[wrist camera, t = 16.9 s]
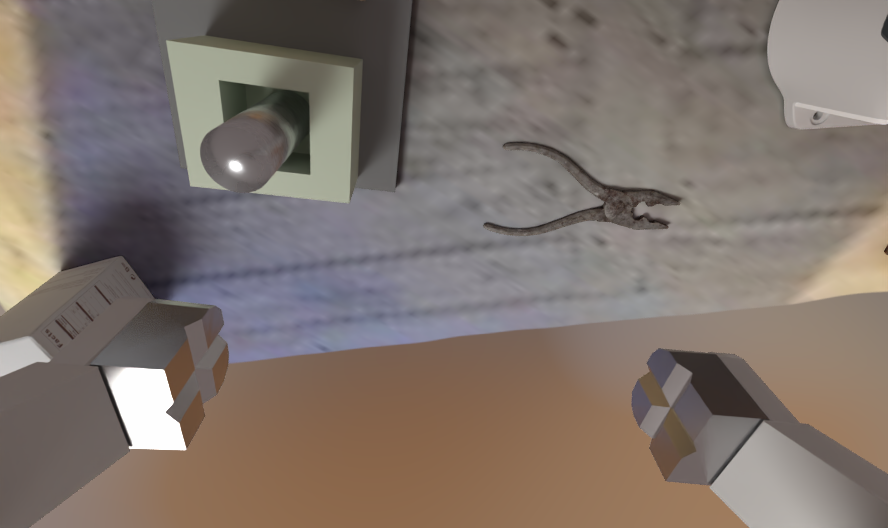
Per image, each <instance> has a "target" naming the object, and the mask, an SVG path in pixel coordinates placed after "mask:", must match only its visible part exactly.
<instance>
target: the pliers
mask: <svg viewBox="0 0 888 528" xmlns="http://www.w3.org/2000/svg"><path fill="white" fill-rule="evenodd" d="M503 148H504V149H505V150H525V151H532V152H536V153H540V154H543V155H545V156H548V157H550V158H552V159H554V160H555V161H557V162H558V163H560V164H561V165H562V166H563V167H564V168H565V169H566V170H567V171H568V172H570V173H571V174H572V175H573V176H574V177H575V178H576V180H577V181H578V182H579V183H580V184H581V185H582V186H583V187H584V188H585V189H586V190H587V191H589V192H590V193H592V194H593V195H595V196H596V197H598V198H599V199H601V200H603V201H605V202H604V204H603V206H602V207H600V208H593V209H588V210H584V211H580V212H577V213H574V214H571V215H568V216H566V217H563V218H561V219H558V220H556V221H553V222H550V223H547V224H545V225H541V226H538V227H534V228H528V229H508V228H503V227H498V226H495V225H491V224H488V223H485V224H484V225H483V226H484V228H485V229H487V230H490V231H493V232H496V233H500V234H505V235H514V236H529V235H537V234H542V233H546V232H549V231H552V230H555V229H559V228H562V227H565V226H568V225H571V224H575V223H579V222H583V221H588V220H597V221H600V222H612V223H615V224H618V225H621V226H625V227H628V228H632V229H635V230H640V229H668V226H667V225H665V224H663V223H660V222H658V221H655V220H654V221H648V220H647V218H646V217H644V216H642V215H641V216H640V217H638V218H635V219H633V218H632V217H633V213H632V212H631V209H632V207H636V206H637V205H638V203H640V202H642V201H645V202H646V205H647V206H654V205H655V204H663V205H665V206H669V205H680V203H679V202H678V201H676V200H674V199H671V198H669V197H667V196H664V195H662V194H660V193H657V192H655V191H653V190H634V191H619V190H616V189H612V188H607V187H605V186H602V185H600V184H599V183H597V182H595V181H594V180H593V179H591V178H590V177H589V176H588V175H586V174H585V173H584V172H583V171H582V170H581V169H580V168H579V167H577V166H576V165H575V164H574V163H573V162H572V161H571V160H569V159H568V158H567V157H565V156H564V155H562V154H561V153H559V152H557V151H555V150H553V149H550V148H547V147H544V146H540V145H535V144H529V143H507V144H504V145H503Z"/></svg>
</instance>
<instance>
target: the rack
mask: <svg viewBox="0 0 888 528" xmlns="http://www.w3.org/2000/svg"><path fill="white" fill-rule="evenodd" d="M166 44H167V50H168V55H169V61H170V67H171V73H172V79H173V85H174V91H175V97H176V103H177V109H178V115H179V121H180V127H181V133H182V139H183V145H184V151H185V157H186V163H187V169H188V175H189V181H190V186H194V187H203V188H213V189H222V190H228V189H226V188H224V187H222V186H220V185H219V184H217V183H216V182H215V181H214V180H213V179H212V178H211V177H210V176H209V175H208V173H207V172H206V170H205V169H204V167H203V164H202V162H201V158H200V146H201V143H202V140H203V138H204V137H205V135H206V134H207V133H208V132H210V131H211V130H212V129H214V128H216V127H217V126H219V125H221V124H222V123H224V122H226V121H227V120H229V119H231V118H232V117H234V116H236V115H237V114H239V113H241V112H242V111H244V110H246V109H247V108H249V107H251V106H252V105H254V104H256V103H257V102H259V101H261V100H262V99H264V98H266V97H267V96H269V95H271V94H272V93H274V92H276V91H280V90H289V91H293V92H295V93H297V94H299V95H301V96H302V97H303V98H304V99H305V100H306V101H307V102H308V104H309V111H310V132H309V134H308V135H307V136H306V137H305V138H304V139H303V141H302V142H301V143H300V144H299V145H298V147H297V148H296V149H295V150H294V151H293V152H292V154H291V155H290V156H289V157H288V158H287V160H286V161H285V162H284V163H283V164H282V165H281V167H280V168H279V169H278V170H277V171H276V172H275V174H274V175H273V176H272V177H271V178H270V180H269V181H268V182H267V183H266V184H265V185H264V186H263V187H262V188H260V189H258V190H256V191H254V192H250V193H259V194H268V195H277V196H287V197H296V198H305V199H314V200H324V201H333V202H342V203H350V200H351V197H352V194H353V191H354V188H355V185H356V182H357V179H358V163H359V139H360V116H361V92H362V69H363V59H359V58H352V57H346V56H339V55H332V54H326V53H319V52H312V51H306V50H299V49H292V48H286V47H279V46H272V45H266V44H259V43H253V42H246V41H239V40H233V39H226V38H219V37H213V36H206V35H204V36H196V37H188V38H180V39H172V40H166Z"/></svg>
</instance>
